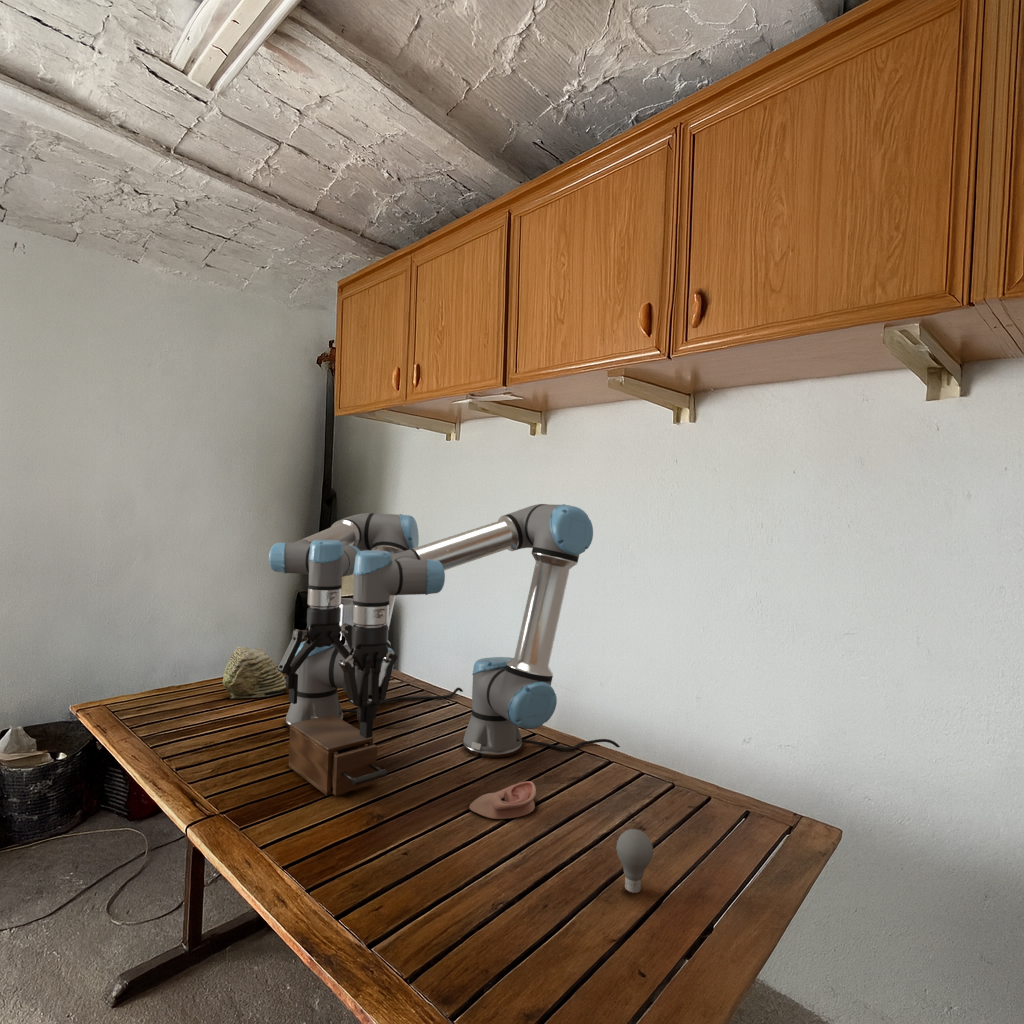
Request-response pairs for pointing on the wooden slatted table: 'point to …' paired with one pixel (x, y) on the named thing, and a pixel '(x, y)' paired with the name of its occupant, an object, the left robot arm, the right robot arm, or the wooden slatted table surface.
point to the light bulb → (634, 857)
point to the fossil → (252, 674)
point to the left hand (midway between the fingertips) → (320, 696)
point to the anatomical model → (506, 802)
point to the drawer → (354, 768)
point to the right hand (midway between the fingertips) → (365, 735)
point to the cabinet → (320, 747)
